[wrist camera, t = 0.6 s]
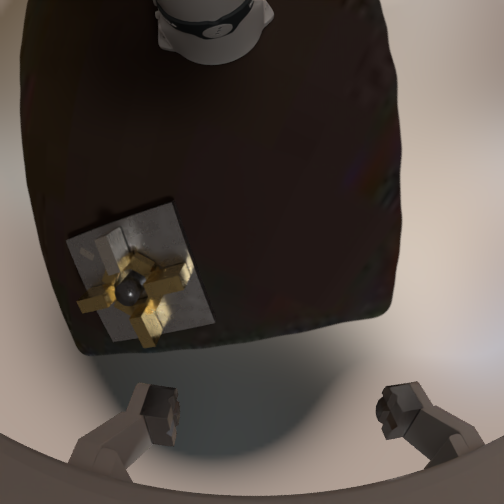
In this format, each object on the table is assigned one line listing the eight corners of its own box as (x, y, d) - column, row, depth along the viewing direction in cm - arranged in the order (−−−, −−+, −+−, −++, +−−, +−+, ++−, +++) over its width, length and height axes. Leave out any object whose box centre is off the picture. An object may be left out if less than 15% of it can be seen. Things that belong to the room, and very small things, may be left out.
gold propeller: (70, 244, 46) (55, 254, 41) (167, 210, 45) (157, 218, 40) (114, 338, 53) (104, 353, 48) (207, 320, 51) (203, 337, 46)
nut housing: (71, 237, 48) (51, 249, 42) (174, 200, 46) (162, 208, 40) (116, 336, 55) (104, 356, 49) (216, 317, 53) (212, 339, 47)
